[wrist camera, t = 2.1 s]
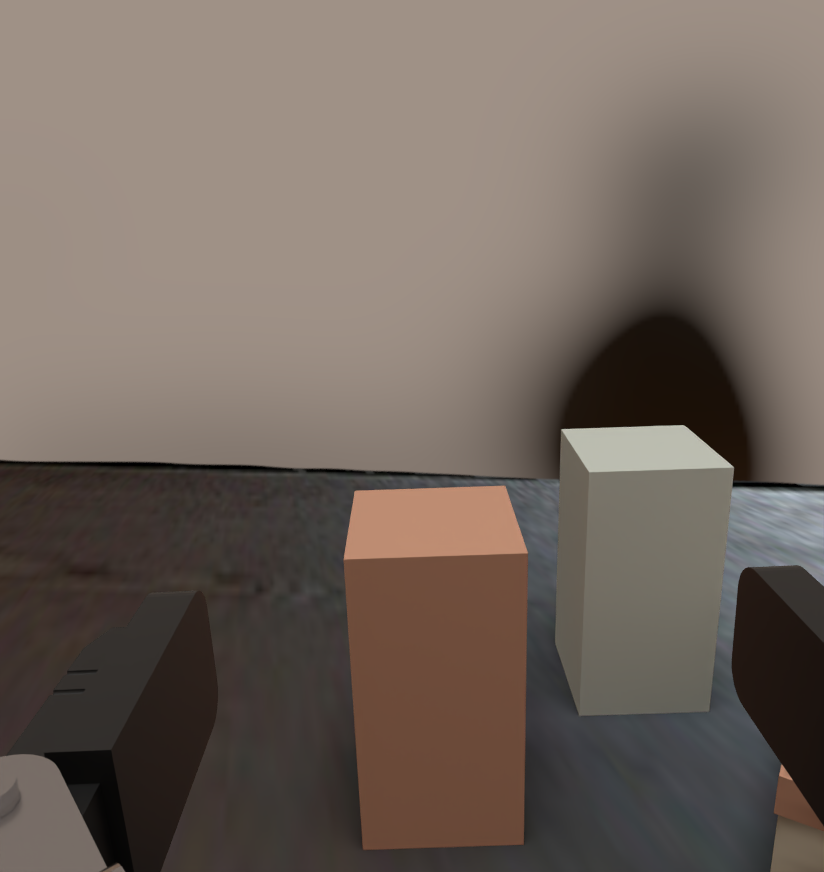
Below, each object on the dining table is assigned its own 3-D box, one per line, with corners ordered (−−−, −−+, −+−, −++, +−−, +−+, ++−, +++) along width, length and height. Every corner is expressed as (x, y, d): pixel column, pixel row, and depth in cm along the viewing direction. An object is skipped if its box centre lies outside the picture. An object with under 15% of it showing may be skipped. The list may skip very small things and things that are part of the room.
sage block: (579, 715, 30) (589, 472, 27) (554, 643, 34) (561, 429, 31) (709, 711, 30) (734, 467, 27) (667, 639, 34) (684, 425, 31)
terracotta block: (363, 849, 24) (343, 559, 21) (369, 740, 29) (354, 490, 26) (523, 844, 24) (527, 553, 21) (504, 736, 29) (505, 485, 26)
